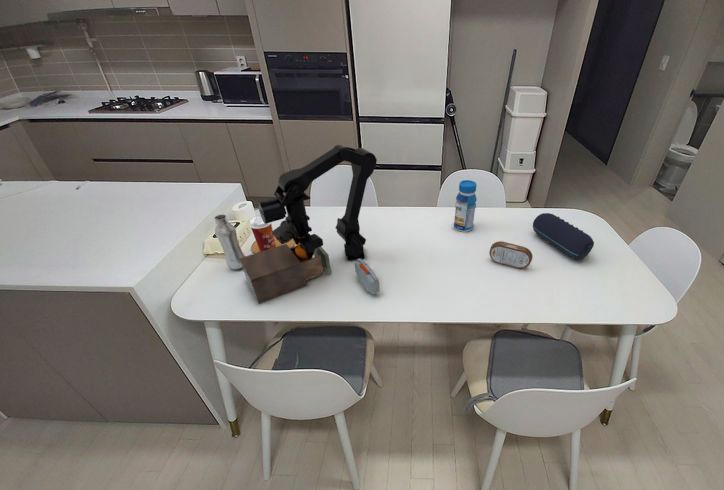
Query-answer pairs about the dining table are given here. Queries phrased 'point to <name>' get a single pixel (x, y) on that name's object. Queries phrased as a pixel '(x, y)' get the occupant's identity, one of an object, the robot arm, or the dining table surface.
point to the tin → (510, 254)
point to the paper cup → (262, 233)
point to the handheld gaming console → (367, 276)
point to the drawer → (314, 263)
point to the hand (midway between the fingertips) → (305, 254)
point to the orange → (300, 252)
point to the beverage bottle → (465, 206)
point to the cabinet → (273, 272)
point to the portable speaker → (563, 235)
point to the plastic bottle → (228, 241)
